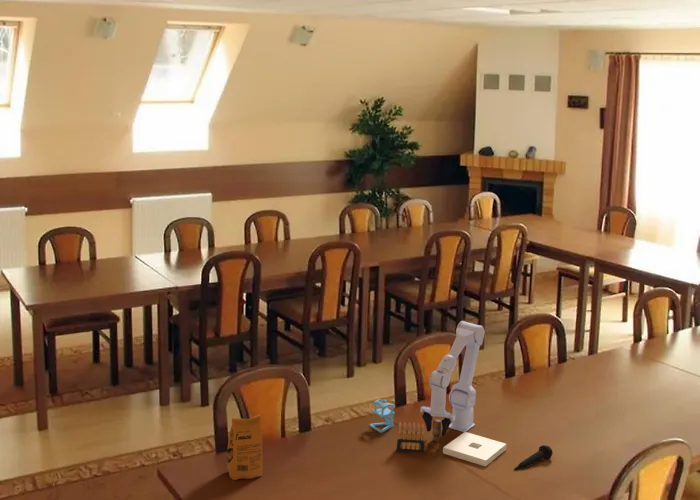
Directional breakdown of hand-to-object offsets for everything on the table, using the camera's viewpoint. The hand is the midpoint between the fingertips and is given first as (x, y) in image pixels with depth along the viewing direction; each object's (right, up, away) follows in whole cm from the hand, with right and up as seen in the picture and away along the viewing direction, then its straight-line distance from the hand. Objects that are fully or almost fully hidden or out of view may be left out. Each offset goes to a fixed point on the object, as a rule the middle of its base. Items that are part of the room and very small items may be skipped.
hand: (436, 433), depth 354 cm
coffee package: (-72, -8, -32) cm, 79 cm away
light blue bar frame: (-21, 0, +11) cm, 23 cm away
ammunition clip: (-11, -5, -10) cm, 16 cm away
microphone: (+34, -8, -16) cm, 39 cm away
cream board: (+14, -5, -9) cm, 17 cm away
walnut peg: (0, -3, +1) cm, 3 cm away
